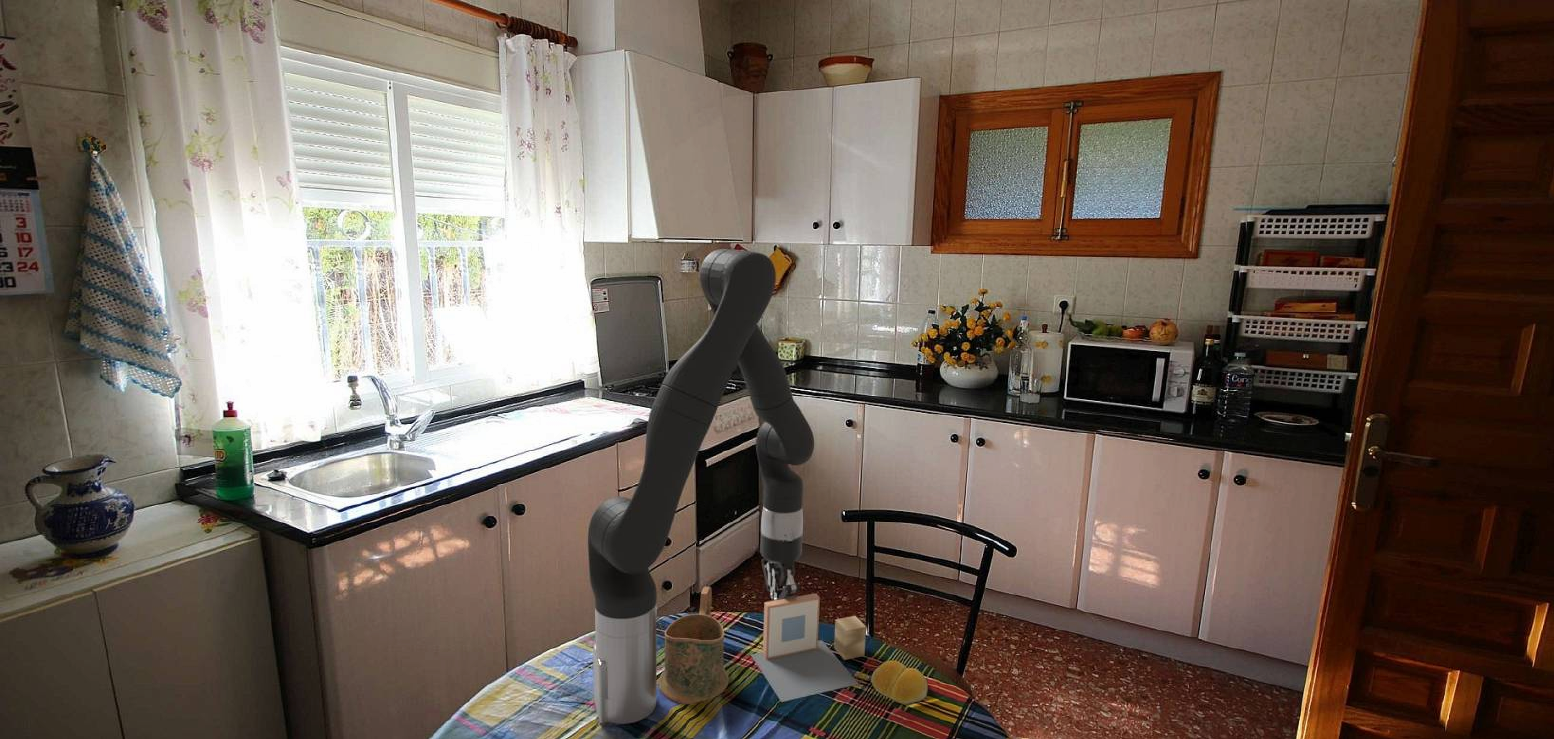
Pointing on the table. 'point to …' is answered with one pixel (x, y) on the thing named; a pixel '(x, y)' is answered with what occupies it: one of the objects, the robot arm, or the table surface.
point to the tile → (790, 625)
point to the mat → (804, 673)
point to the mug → (694, 656)
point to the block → (850, 637)
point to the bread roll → (899, 682)
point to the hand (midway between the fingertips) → (778, 618)
